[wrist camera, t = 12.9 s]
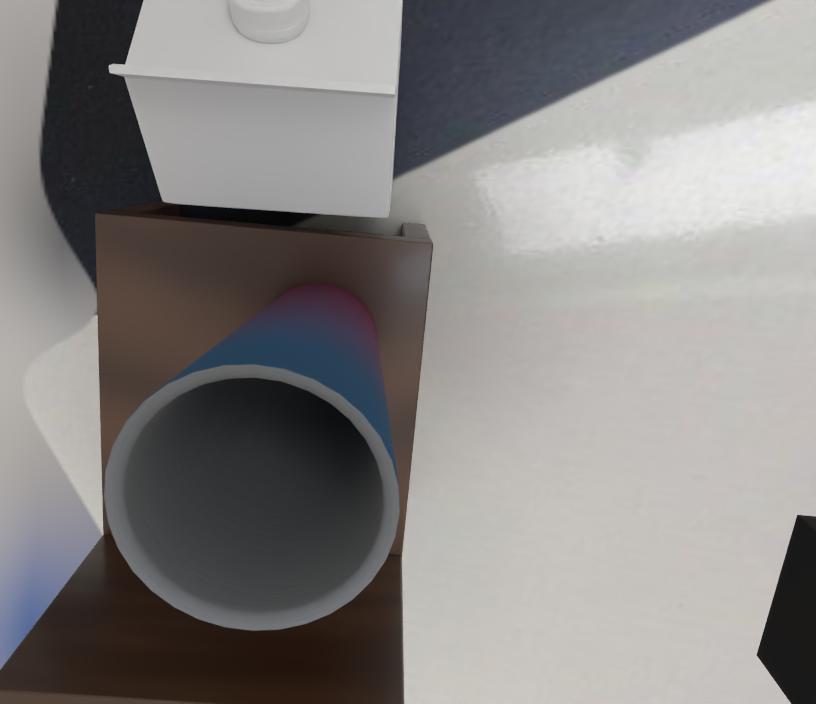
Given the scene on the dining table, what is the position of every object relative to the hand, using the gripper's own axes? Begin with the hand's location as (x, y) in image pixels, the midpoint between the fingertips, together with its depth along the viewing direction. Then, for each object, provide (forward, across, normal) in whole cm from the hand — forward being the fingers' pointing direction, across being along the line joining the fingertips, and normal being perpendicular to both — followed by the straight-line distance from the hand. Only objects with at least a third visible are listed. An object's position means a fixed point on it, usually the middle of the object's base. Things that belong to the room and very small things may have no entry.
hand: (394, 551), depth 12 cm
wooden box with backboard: (+28, -6, -6) cm, 29 cm away
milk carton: (+28, -4, +8) cm, 29 cm away
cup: (+20, -3, -2) cm, 20 cm away
